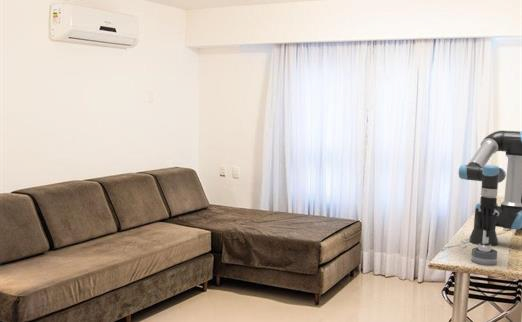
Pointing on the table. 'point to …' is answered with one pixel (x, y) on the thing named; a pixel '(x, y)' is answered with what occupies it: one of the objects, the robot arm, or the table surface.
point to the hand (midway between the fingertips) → (485, 243)
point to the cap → (484, 247)
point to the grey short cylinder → (484, 257)
